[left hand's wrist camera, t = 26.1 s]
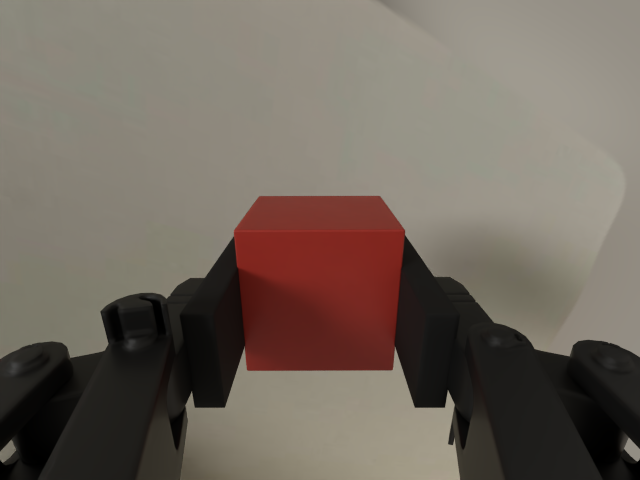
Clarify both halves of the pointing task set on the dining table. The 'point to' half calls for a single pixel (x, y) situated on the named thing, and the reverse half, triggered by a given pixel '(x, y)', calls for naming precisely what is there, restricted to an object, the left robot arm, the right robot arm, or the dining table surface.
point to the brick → (319, 282)
